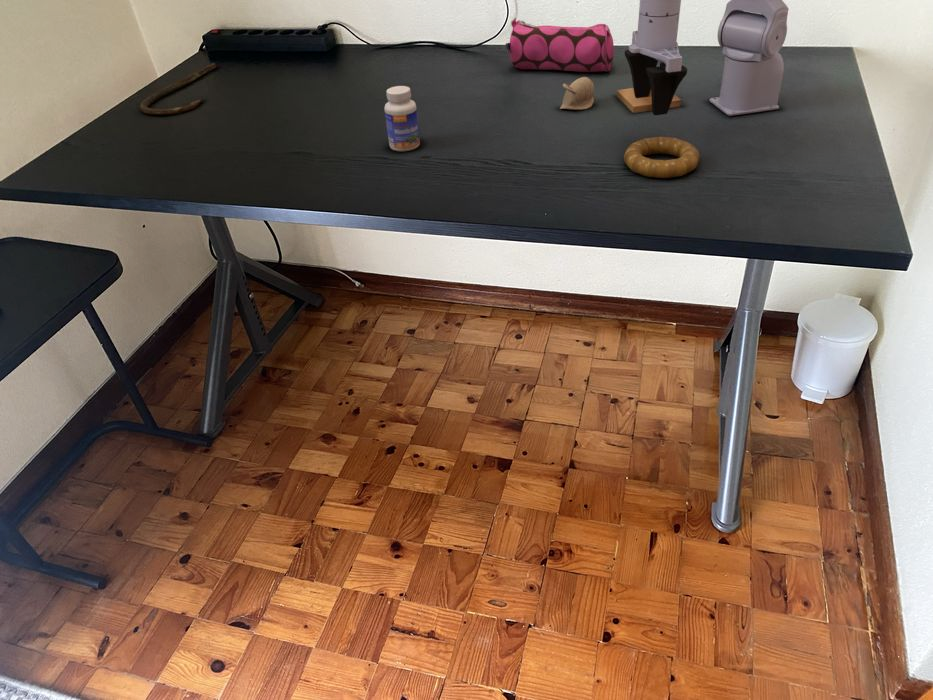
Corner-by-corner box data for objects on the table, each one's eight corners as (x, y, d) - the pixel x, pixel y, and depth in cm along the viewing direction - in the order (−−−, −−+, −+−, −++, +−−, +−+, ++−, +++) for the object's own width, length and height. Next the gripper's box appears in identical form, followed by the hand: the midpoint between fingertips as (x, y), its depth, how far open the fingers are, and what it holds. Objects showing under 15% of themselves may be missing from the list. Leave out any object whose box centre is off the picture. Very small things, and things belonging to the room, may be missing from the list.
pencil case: (505, 76, 151) (503, 25, 145) (516, 61, 158) (515, 11, 152) (608, 79, 146) (611, 26, 139) (615, 63, 153) (618, 12, 146)
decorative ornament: (600, 103, 136) (602, 74, 133) (568, 116, 132) (569, 86, 129) (584, 98, 138) (585, 69, 135) (553, 111, 135) (553, 81, 131)
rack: (661, 90, 139) (664, 56, 135) (680, 106, 132) (684, 71, 128) (616, 96, 138) (618, 62, 134) (633, 113, 131) (635, 78, 127)
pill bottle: (396, 155, 124) (389, 98, 118) (384, 144, 128) (376, 88, 122) (425, 147, 126) (419, 90, 120) (413, 136, 130) (406, 81, 123)
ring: (680, 145, 119) (681, 130, 117) (710, 174, 110) (712, 158, 109) (614, 155, 118) (615, 140, 116) (639, 185, 109) (640, 169, 108)
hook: (135, 119, 146) (132, 112, 145) (163, 73, 169) (160, 66, 168) (198, 113, 147) (196, 105, 146) (217, 67, 170) (215, 61, 169)
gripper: (615, 2, 110) (610, 92, 118) (651, 28, 99) (643, 125, 107) (660, -3, 111) (652, 87, 119) (701, 22, 99) (688, 119, 108)
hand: (650, 105), depth 113 cm, fingers open, 7 cm apart
